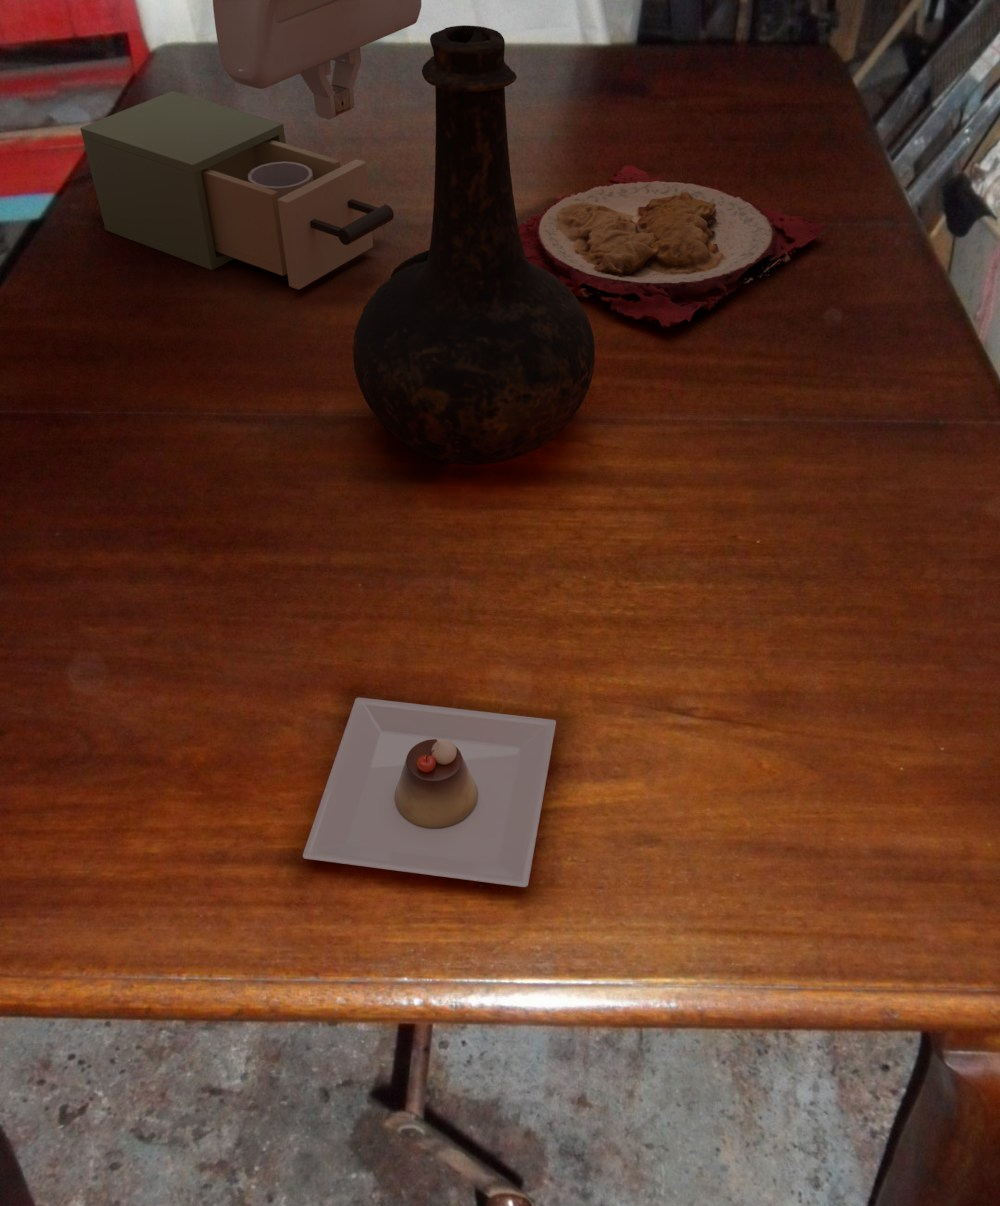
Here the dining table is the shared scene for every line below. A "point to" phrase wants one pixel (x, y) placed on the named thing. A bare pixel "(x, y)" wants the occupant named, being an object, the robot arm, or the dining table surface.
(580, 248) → the plate with food
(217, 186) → the drawer
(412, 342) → the glass bottle
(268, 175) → the tin
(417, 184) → the dining table surface
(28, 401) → the dining table surface
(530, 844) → the dessert
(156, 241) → the cabinet
